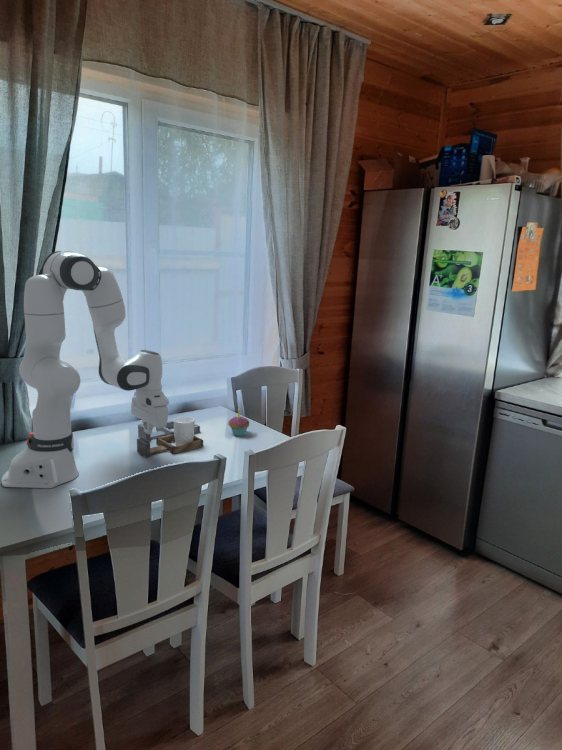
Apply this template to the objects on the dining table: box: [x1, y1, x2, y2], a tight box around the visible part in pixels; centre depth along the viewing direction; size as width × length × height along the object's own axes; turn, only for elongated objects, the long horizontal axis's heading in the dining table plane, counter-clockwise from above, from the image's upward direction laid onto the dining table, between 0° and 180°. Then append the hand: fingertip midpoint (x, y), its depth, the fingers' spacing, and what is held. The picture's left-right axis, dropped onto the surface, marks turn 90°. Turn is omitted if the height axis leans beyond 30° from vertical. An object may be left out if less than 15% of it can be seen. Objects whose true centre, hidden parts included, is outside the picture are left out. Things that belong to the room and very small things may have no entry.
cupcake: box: [227, 408, 250, 437], centre depth 222 cm, size 9×8×12 cm
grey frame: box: [137, 420, 201, 442], centre depth 220 cm, size 22×12×5 cm, turn 132°
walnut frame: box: [136, 434, 204, 458], centre depth 205 cm, size 22×12×5 cm, turn 132°
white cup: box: [172, 415, 196, 446], centre depth 209 cm, size 8×8×10 cm
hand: (148, 433), depth 198 cm, fingers closed
